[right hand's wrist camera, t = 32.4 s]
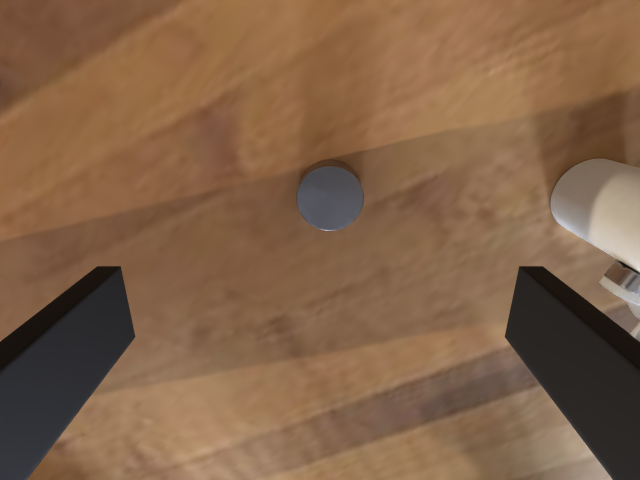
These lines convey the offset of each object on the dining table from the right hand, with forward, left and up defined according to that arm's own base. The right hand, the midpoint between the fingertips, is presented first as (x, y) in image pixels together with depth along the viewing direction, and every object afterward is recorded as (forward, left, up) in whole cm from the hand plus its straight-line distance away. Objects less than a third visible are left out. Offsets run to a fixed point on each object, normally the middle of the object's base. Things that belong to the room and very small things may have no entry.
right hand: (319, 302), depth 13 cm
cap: (0, 0, -11) cm, 11 cm away
